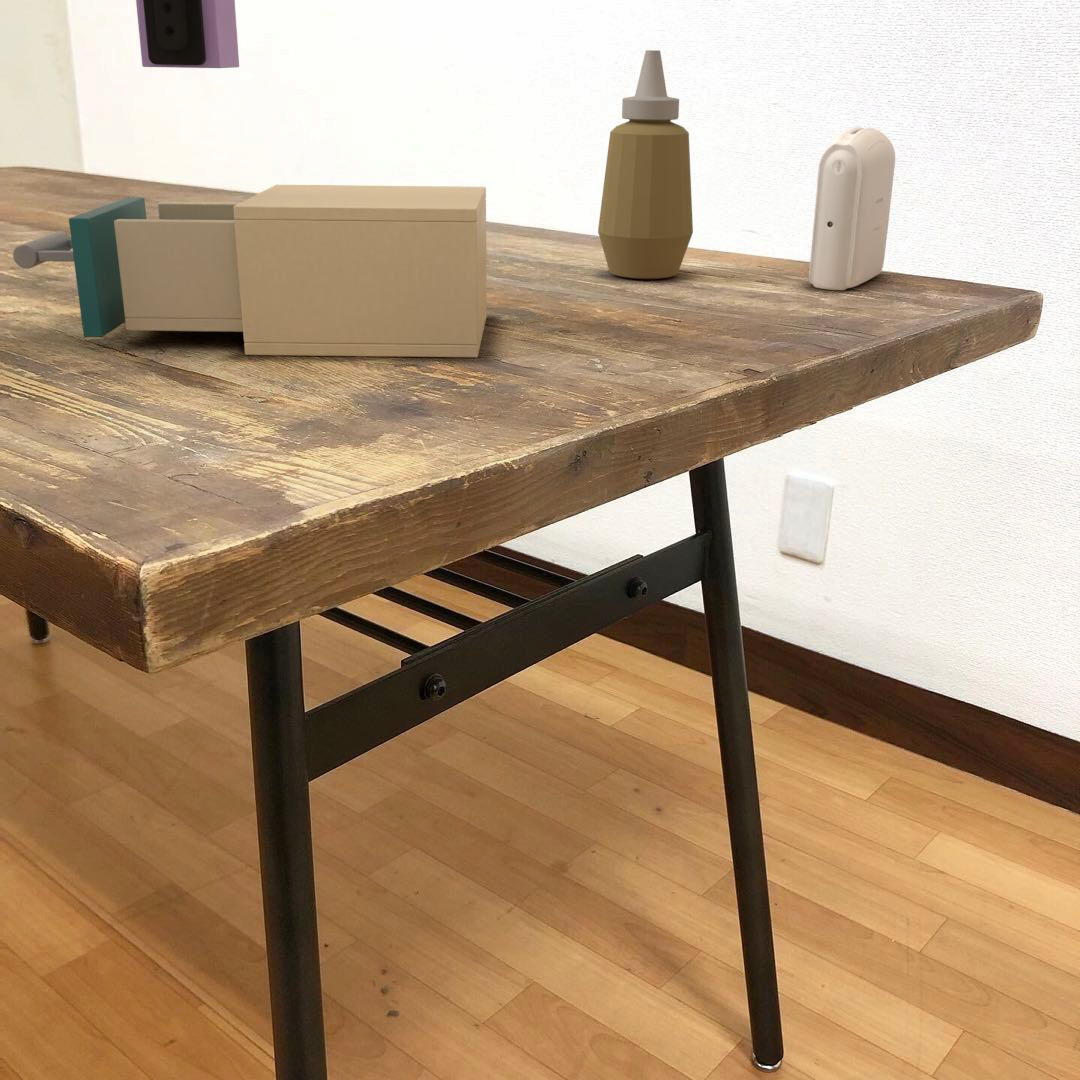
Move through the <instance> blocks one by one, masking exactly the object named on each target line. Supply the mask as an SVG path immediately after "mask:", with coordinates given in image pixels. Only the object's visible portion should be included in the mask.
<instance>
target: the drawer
mask: <svg viewBox="0 0 1080 1080" xmlns="http://www.w3.org/2000/svg"><path fill="white" fill-rule="evenodd" d="M145 200H146V199H145V197H137V196H136V197H132V196H131V197H125V198H122V199H119V200H116V201H114V202H112V203H109V204H106V205H103V206H100V207H97V208H95V209H91V210H89V211H86V212H83V213H80V214H78V215H74V216H72V217H69V218H68V226H69V233H70V234H69V233H67V232H66V231H63V230H57V231H54V232H52V233H49V234H47V235H43V236H41V237H38V238H36V239H33V240H30V241H28V242H25V243H22V244H19V245H17V246H16V247H15V248H14V250H13V252H12V257H13V261H14V262H15V264H16V265H17V266H19V268H21V269H25V270H27V269H32V268H35V267H37V266H38V265H42V264H44V263H46V262H61V263H62V262H67V263H68V262H73V263H74V271H75V279H76V287H77V296H78V302H79V310H80V311H79V312H80V318H81V319H80V320H81V325H82V326H81V327H82V333H83V337H84V338H103V337H105V336H106V335H108V334H109V333H111V332H112V331H113V330H115V329H118V327H120V326H122V325H123V324H125V330H126V331H131V332H132V331H133V332H134V331H141V332H142V331H143V332H144V331H145V332H151V331H152V332H224V333H225V332H227V333H228V332H231V333H232V332H234V333H235V332H236V333H237V332H239V333H243V323H242V310H241V298H240V285H239V273H238V260H237V248H236V235H235V222H234V220H235V219H234V210H233V206H235V205H237V204H239V203H240V202H211V201H210V202H208V201H207V202H206V201H203V202H202V201H201V202H199V201H197V202H195V201H161V202H158V203H157V208H158V209H157V210H158V218H159V219H158V218H157V219H155V218H154V219H153V218H152V219H151V218H150V219H149V218H147V211H146V210H147V209H146V201H145Z"/></svg>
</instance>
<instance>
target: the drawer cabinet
mask: <svg viewBox="0 0 1080 1080" xmlns="http://www.w3.org/2000/svg"><path fill="white" fill-rule="evenodd" d="M238 203H239V204H237V205H235V206H233V210H234V219H235V220H234V222H235V235H236V248H237V260H238V273H239V285H240V298H241V310H242V323H243V332H242V334H243V335H242V336H243V342H244V344H243V346H244V355H245V356H291V357H292V356H294V357H295V356H297V357H298V356H301V357H303V356H304V357H379V358H380V357H381V358H382V357H391V358H392V357H393V358H394V357H395V358H397V357H398V358H478V357H479V353H480V348H481V343H482V339H483V335H484V330H485V327H486V321H487V317H488V313H487V311H488V310H487V309H488V308H487V304H488V302H487V297H488V296H487V293H488V292H487V291H488V290H487V188H486V186H451V185H450V186H447V185H446V186H445V185H444V186H440V185H439V186H438V185H436V186H435V185H434V186H433V185H356V184H355V185H354V184H353V185H350V184H349V185H348V184H347V185H345V184H344V185H343V184H341V185H340V184H339V185H338V184H275V185H273V186H270V187H269V188H267V189H265V190H263V191H261V192H259V193H257V194H255V195H253V196H251V197H249V198H247V199H245V200H243V201H241V202H238Z"/></svg>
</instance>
